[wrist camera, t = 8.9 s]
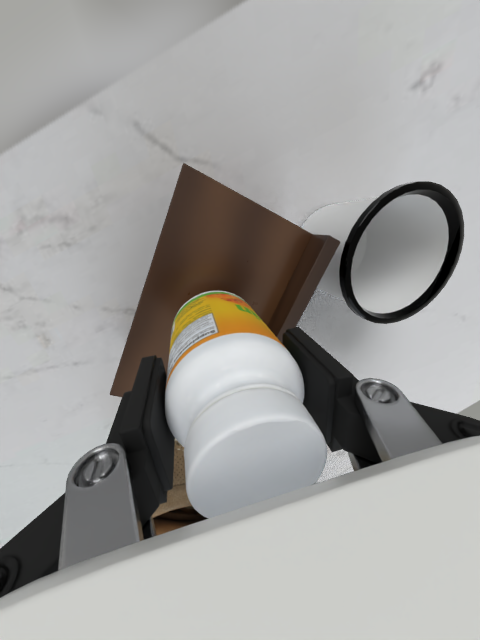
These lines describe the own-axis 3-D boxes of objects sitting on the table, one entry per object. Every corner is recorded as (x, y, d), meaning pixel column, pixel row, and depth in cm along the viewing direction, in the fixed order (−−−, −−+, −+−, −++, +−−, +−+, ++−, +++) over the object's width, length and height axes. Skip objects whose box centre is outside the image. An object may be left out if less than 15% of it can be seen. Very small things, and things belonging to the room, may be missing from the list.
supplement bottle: (270, 330, 16) (379, 458, 7) (211, 378, 16) (245, 557, 7) (219, 270, 14) (289, 350, 5) (152, 328, 14) (102, 502, 5)
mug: (308, 309, 26) (365, 347, 18) (271, 231, 22) (324, 235, 14) (398, 250, 26) (499, 262, 18) (378, 162, 22) (496, 123, 14)
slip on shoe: (315, 481, 39) (350, 548, 31) (267, 521, 40) (288, 596, 32) (179, 396, 26) (177, 470, 18) (115, 457, 28) (86, 553, 20)
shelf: (129, 348, 23) (100, 415, 15) (183, 183, 19) (183, 151, 11) (221, 371, 26) (237, 436, 18) (283, 236, 22) (341, 241, 14)
